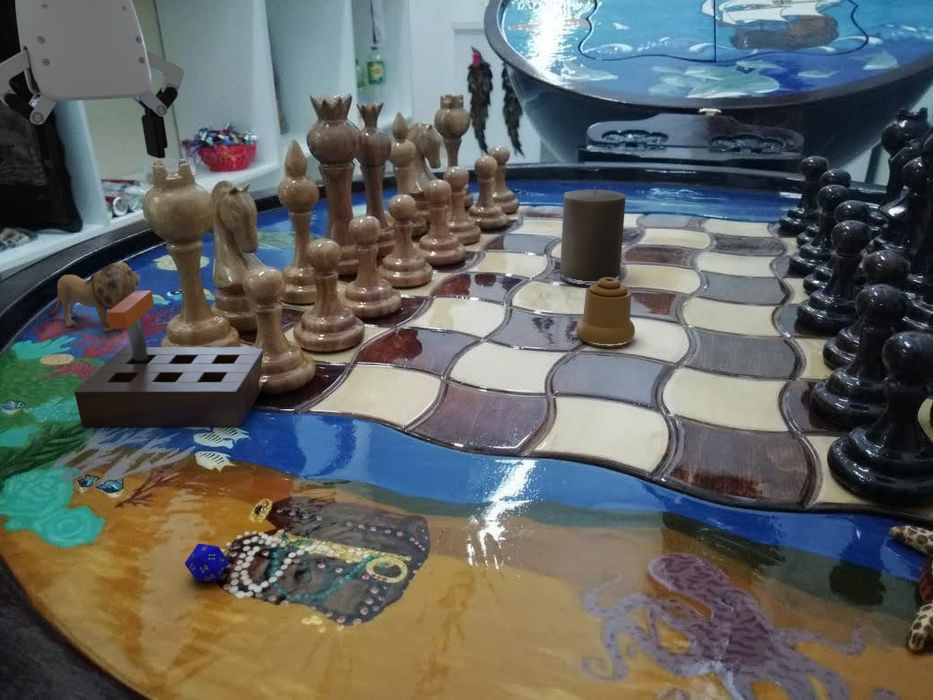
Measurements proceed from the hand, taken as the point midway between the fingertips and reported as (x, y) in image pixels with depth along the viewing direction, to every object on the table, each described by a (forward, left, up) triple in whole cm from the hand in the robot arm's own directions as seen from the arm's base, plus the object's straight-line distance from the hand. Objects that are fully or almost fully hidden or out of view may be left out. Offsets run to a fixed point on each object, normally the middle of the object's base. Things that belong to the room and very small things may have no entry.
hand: (107, 161), depth 72 cm
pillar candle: (+55, +41, -25) cm, 74 cm away
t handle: (0, 0, -25) cm, 25 cm away
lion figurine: (-15, +21, -25) cm, 36 cm away
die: (+16, -31, -25) cm, 43 cm away
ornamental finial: (+53, +15, -25) cm, 61 cm away
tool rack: (+4, -3, -25) cm, 26 cm away
